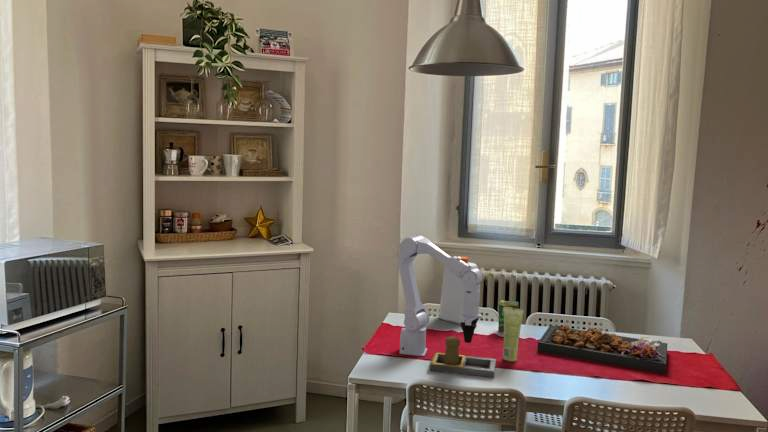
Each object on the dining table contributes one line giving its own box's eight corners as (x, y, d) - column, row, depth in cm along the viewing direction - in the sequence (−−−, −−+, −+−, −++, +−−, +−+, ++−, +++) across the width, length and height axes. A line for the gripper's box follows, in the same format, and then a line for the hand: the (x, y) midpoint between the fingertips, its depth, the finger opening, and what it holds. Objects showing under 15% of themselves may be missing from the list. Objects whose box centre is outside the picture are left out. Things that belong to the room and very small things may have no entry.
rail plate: (429, 371, 216) (430, 363, 216) (434, 359, 228) (434, 352, 228) (493, 378, 212) (494, 370, 211) (495, 365, 223) (496, 358, 223)
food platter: (666, 354, 243) (668, 328, 241) (665, 375, 221) (667, 347, 219) (549, 335, 262) (550, 311, 260) (537, 353, 239) (539, 327, 238)
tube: (513, 356, 233) (516, 305, 231) (520, 361, 229) (524, 309, 226) (500, 357, 231) (503, 306, 229) (507, 362, 227) (510, 310, 224)
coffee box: (497, 331, 262) (498, 301, 260) (498, 329, 265) (500, 299, 263) (516, 334, 259) (518, 303, 258) (517, 332, 262) (519, 301, 260)
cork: (459, 371, 217) (460, 341, 215) (441, 369, 218) (443, 339, 216) (460, 365, 223) (462, 335, 221) (443, 363, 224) (445, 334, 222)
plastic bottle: (452, 311, 289) (454, 252, 285) (481, 318, 280) (484, 257, 276) (435, 319, 277) (438, 257, 273) (465, 326, 268) (468, 262, 264)
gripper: (480, 308, 213) (478, 346, 215) (484, 298, 227) (481, 333, 229) (460, 306, 215) (458, 344, 217) (464, 296, 229) (462, 331, 231)
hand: (468, 338), depth 223 cm, fingers open, 7 cm apart
